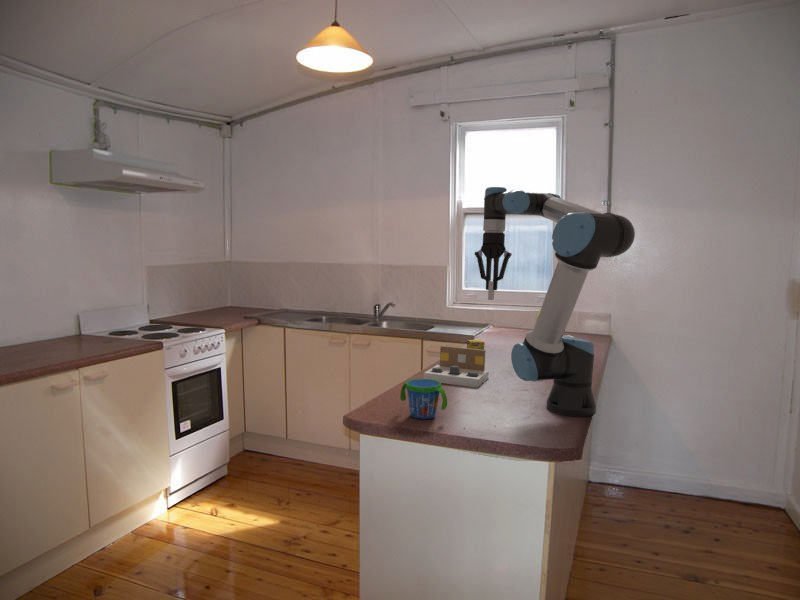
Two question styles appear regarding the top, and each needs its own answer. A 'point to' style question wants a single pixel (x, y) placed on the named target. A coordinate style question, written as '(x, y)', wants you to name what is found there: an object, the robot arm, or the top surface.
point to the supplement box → (475, 344)
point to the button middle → (454, 370)
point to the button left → (437, 370)
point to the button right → (472, 374)
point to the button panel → (465, 360)
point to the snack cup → (423, 397)
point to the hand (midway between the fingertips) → (490, 299)
